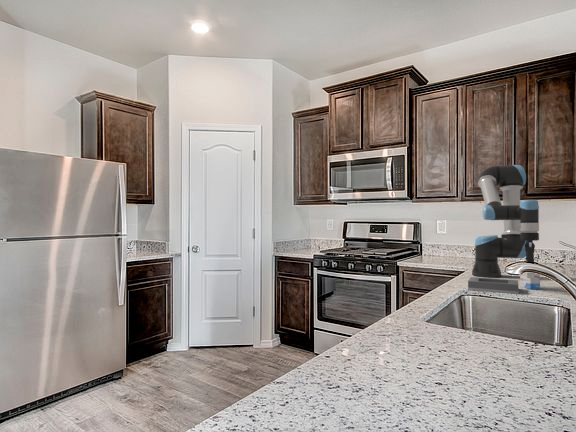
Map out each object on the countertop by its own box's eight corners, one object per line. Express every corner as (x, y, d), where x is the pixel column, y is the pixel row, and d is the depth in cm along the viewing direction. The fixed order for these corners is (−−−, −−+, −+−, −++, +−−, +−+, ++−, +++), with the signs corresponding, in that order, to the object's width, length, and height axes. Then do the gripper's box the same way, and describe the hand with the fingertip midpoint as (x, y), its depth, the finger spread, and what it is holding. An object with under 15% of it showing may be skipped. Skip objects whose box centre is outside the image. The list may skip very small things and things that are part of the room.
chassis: (470, 285, 187) (470, 277, 187) (517, 288, 177) (517, 280, 177) (468, 289, 175) (468, 281, 175) (518, 293, 165) (518, 284, 165)
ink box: (541, 289, 175) (540, 264, 175) (530, 289, 175) (530, 264, 175) (529, 286, 183) (529, 262, 184) (519, 286, 184) (519, 262, 184)
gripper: (519, 231, 192) (520, 273, 192) (520, 232, 171) (521, 279, 170) (537, 231, 188) (537, 274, 188) (540, 232, 167) (541, 280, 166)
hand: (530, 276), depth 179 cm, fingers open, 13 cm apart
